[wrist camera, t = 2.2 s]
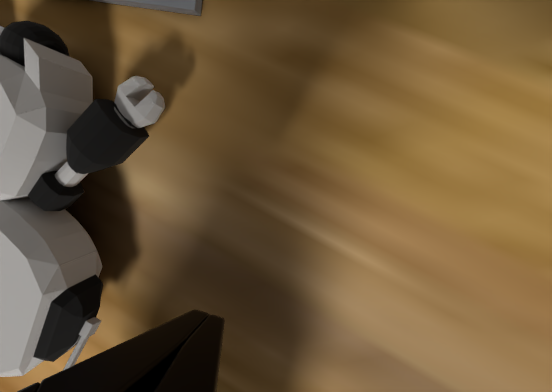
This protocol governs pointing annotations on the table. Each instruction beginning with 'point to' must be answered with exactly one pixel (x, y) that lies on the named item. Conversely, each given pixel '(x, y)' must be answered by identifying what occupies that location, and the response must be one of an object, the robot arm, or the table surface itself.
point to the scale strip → (163, 5)
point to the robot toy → (54, 191)
